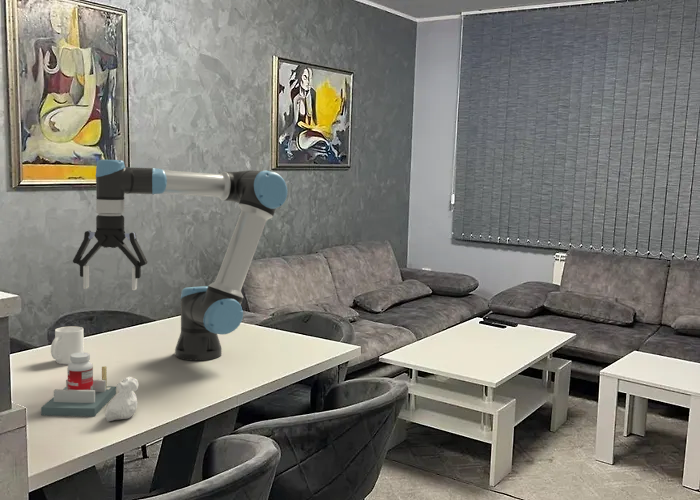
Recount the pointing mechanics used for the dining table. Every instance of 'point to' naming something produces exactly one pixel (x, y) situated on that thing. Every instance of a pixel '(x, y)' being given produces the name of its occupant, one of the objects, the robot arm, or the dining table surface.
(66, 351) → the mug
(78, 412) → the board
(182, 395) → the dining table surface
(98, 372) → the dining table surface
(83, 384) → the pill bottle
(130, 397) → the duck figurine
